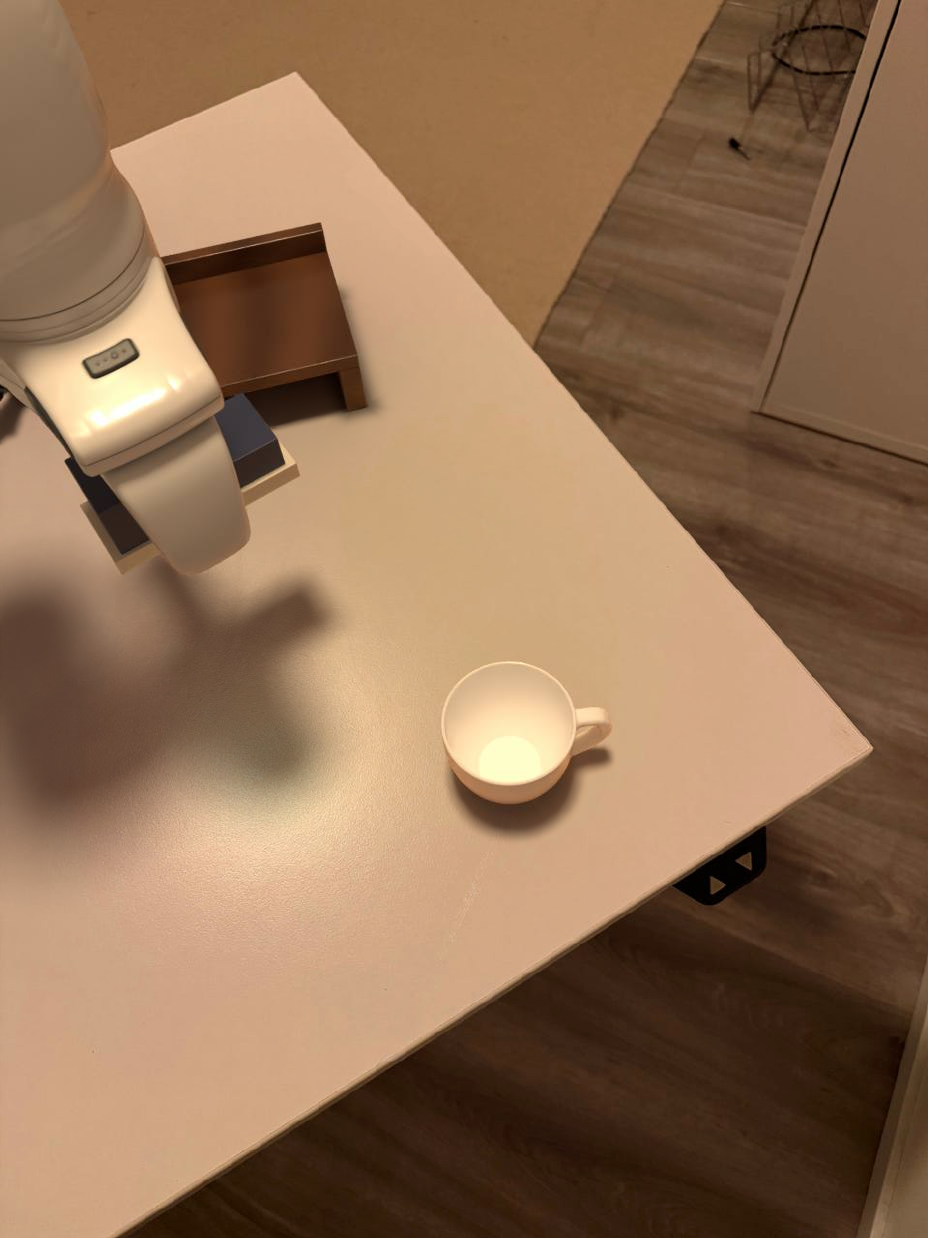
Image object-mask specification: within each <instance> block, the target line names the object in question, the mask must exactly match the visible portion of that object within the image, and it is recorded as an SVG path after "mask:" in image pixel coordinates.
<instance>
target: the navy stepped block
mask: <svg viewBox="0 0 928 1238" xmlns="http://www.w3.org/2000/svg"><path fill="white" fill-rule="evenodd" d="M214 417H215V419H216V421H217V423H218V425H219V427H220V430H221V432H222V435H223V437H224V439H225V442H226V444H227V447H228V450H229V453H230V456H231V459H232V462H233V465H234V468H235V472H236V475H237V478H238V482H239V485H240V489H241V492H242V496H243V499H244V503H245V507H247V506H249V505H251V504H252V503H254V502H256V501H258V500H259V499H261V498H263V497H265V496H267V495H269V494H271V493H272V492H274V491H276V490H278V489H280V488H281V487H283V486H285V485H287V484H288V483H290V482H292V481H294V480H295V479H298V478H299V477H300V476H301V473H300V470H299V467H298V464H297V461H295V459H294V458H293V456H292V455H291V454H290V452H289V450H287V449H286V447H285V446H284V444H283V443H282V442H281V441H280V439H279V438H278V437H277V435H276V434H275V433H274V432H273V430H272V429H271V427H270V426H269V425H268V423H267V422H266V421H265V420H264V418H263V417H262V416H261V415H260V412H258V410H257V409H256V408H255V407H254V405H253V404H252V403H251V401H250V399H248V398H247V396H246V395H245V393H240V394H238V395H234V396H231V397H230V398H228V399H226V400H224V408H223V409H222V410H220V411H219V412H217V413H216V414H214ZM64 464H65V465H66V467H67V469H68V470H69V472H70V473H71V476H72V477H73V478H74V480H75V482H76V484H77V485H78V487H79V489H80V491H81V492H82V494H83V495H84V498H86V501H85V502H83V503H81V504H80V505H79V507H80V509H81V510H82V512H83V514H84V515H85V517H86V518H87V520H88V522H89V523H90V525H91V526H92V528H93V530H94V532H95V533H96V535H97V536H98V538H99V540H100V542H101V543H102V544H103V546H104V548H105V550H106V551H107V553H108V555H109V556H110V557H111V559H112V561H113V563H114V565H115V566H116V567H117V569H118V571H119V572H120V574H121V575H125V574H126V573H128V572H130V571H132V570H134V569H135V568H137V567H139V566H141V565H143V564H145V563H146V562H148V561H151V560H152V559H153V558H155V557H157V556H158V555H162V554H161V553H160V552H159V550H158V549H157V548H156V546H155V545H154V544H153V543H152V541H151V540H150V539H149V537H148V536H147V535H146V534H145V532H144V531H143V530H142V528H141V527H140V526H139V524H138V523H137V522H136V521H135V519H134V518H133V517H132V515H131V514H130V513H129V511H128V510H127V509H126V507H125V506H124V505H123V504H122V502H121V501H120V500H119V498H118V497H117V496H116V495H115V493H114V492H113V491H112V489H111V488H110V487H109V486H108V484H107V483H106V482H105V480H104V479H103V478H102V477H101V475H100V474H99V475H97V476H94V477H90V476H88V475H86V474H85V473H84V472H83V471H82V469H81V468H80V466H79V464H78V463H77V461H76V460H75V459H72V458H71V457H70V456H69V457H67V458H65V459H64Z"/></svg>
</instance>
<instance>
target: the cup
mask: <svg viewBox="0 0 928 1238" xmlns="http://www.w3.org/2000/svg"><path fill="white" fill-rule="evenodd" d="M442 707H443V708H442V711H441V716H440V731H441V739H442V745H443V749H444V751H445V755H446V759H447V761H448V763H449V765H450V768H451V770H452V771H453V773H454V774H455V776H456V777H457V779H458V780H459V781H460V782H461V783H462V784H463V785H464V787H466V788H467V789H468V790H470V791H471V792H472V793H474V794H475V795H476V796H478V797H480V798H482V799H484V800H486V801H488V802H492V803H496V804H502V805H517V804H523V803H527V802H530V801H532V800H534V799H537V798H539V797H541V796H542V795H544V794H546V793H547V792H548V791H549V790H550V789H552V788H553V787H554V786H555V785H556V784H557V783H558V782H559V780H560V779H561V778H562V776H563V775H564V773H565V772H566V770H567V769H568V767H569V765H570V762H571V759H572V757H573V756H576V755H579V754H582V753H584V752H586V751H588V750H590V749H592V748H593V747H595V746H597V745H599V744H600V743H602V742H603V741H605V740H606V739H607V738H608V737H609V736H610V734H611V732H612V729H613V726H612V720H611V717H610V714H609V713H608V712H607V710H606V709H604V708H602V707H600V706H599V707H598V706H590V707H589V706H587V707H581V708H575V705H574V702H573V699H572V698H571V696H570V694H569V692H568V691H567V689H566V688H565V687H564V685H563V684H562V683H561V681H559V680H558V679H557V678H556V677H555V676H553V675H552V674H550V673H549V672H547V671H546V670H544V669H542V668H540V667H538V666H536V665H532V664H530V663H525V662H520V661H512V660H511V661H510V660H509V661H505V660H504V661H497V662H492V663H487V664H485V665H482V666H479V667H478V668H477V667H476V669H474V670H472V671H470V672H469V673H467V674H466V675H464V676H463V677H462V678H461V679H459V681H457V683H455V685H454V686H453V687H452V689H451V690H450V692H449V693H448V695H447V697H446V699H445V701H444V704H443V706H442ZM585 727H586V728H587V727H589V728H587V729H585V730H584V731H582V732H580V733H579V734H577V732H578V730H579V729H581V728H585Z"/></svg>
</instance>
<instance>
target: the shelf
mask: <svg viewBox="0 0 928 1238" xmlns="http://www.w3.org/2000/svg"><path fill="white" fill-rule="evenodd" d="M325 237H326V236H325V231H324V228H323V224H322V222H314V223H310V224H306V225H302V226H301V225H300V226H296V227H292V228H287V229H282V230H278V231H274V232H268V233H265V234H259V235H256V236H251V237H245V238H241V239H237V240H232V241H227V242H224V243H218V244H215V245H210V246H205V247H200V248H196V249H190V250H187V251H182V252H177V253H174V254H168V255H164V256H160V257H161V260H162V262H163V264H164V266H165V268H166V270H167V273H168V276H169V278H170V281H171V283H172V286H173V289H174V292H175V294H176V297H177V300H178V304H179V307H180V311H181V314H182V316H183V318H184V320H185V322H186V324H187V326H188V328H189V330H190V331H191V333H192V335H193V337H194V339H195V340H196V342H197V344H198V345H199V347H200V349H201V350H202V352H203V354H204V355H205V357H206V359H207V361H208V363H209V365H210V367H211V370H212V371H213V373H214V375H215V377H216V379H217V381H218V383H219V386H220V388H221V391H222V394H223V398H224V399H225V398H229V397H230V398H231V397H234V396H236V395H238V394H240V393H243V394H246V393H251V392H255V391H260V390H263V389H268V388H272V387H276V386H281V385H285V384H291V383H295V382H299V381H303V380H308V379H311V378H315V377H321V376H325V375H329V374H334V373H336V374H337V377H338V382H339V384H340V388H341V391H342V392H341V393H342V395H343V399H344V402H345V403H344V404H345V407H346V410H347V412H351V411H354V410H358V409H363V408H367V407H368V405H367V398H366V394H365V387H364V382H363V377H362V371H361V367H360V361H359V356H358V352H357V348H356V345H355V342H354V338H353V335H352V332H351V331H352V330H351V327H350V325H349V321H348V317H347V313H346V310H345V307H344V304H343V300H342V298H341V297H342V296H341V293H340V289H339V287H338V283H337V280H336V276H335V273H334V270H333V266H332V262H331V259H330V255H329V252H328V248H327V247H328V246H327V243H326V238H325Z"/></svg>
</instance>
